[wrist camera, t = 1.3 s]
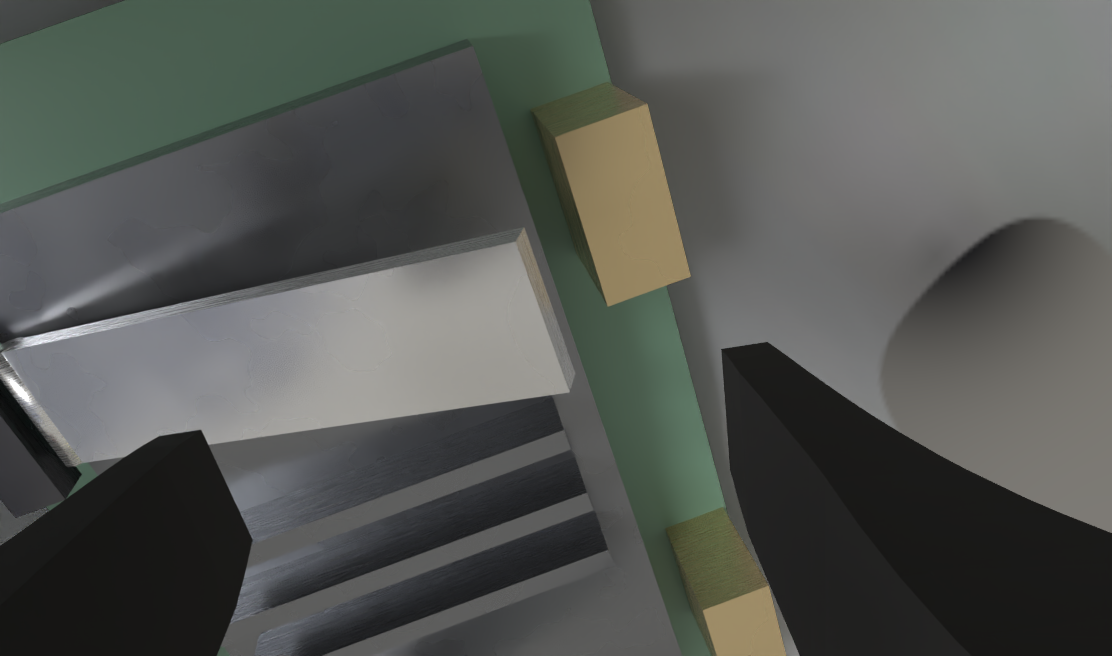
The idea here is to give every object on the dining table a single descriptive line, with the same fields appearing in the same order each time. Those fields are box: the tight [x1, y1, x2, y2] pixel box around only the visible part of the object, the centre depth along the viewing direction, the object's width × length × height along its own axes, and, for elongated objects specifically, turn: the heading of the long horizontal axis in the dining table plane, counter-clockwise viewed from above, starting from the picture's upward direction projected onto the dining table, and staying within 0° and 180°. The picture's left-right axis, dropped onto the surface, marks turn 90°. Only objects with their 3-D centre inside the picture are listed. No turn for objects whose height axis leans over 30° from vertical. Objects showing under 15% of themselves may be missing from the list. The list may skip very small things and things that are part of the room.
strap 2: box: [0, 227, 575, 467], centre depth 15 cm, size 12×3×1 cm, turn 108°
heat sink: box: [0, 39, 786, 656], centre depth 21 cm, size 16×22×4 cm
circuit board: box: [0, 0, 729, 656], centre depth 23 cm, size 18×28×1 cm, turn 18°
